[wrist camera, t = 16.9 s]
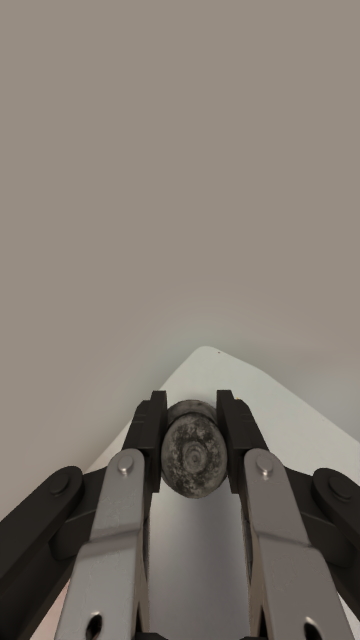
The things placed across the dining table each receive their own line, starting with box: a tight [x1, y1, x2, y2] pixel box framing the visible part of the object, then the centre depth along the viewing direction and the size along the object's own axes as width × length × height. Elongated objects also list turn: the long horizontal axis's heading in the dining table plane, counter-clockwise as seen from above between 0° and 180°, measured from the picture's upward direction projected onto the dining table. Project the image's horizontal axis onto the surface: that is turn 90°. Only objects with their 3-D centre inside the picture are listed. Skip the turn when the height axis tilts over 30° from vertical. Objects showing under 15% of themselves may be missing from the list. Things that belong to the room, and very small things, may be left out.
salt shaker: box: [161, 400, 228, 499], centre depth 11 cm, size 6×6×12 cm
